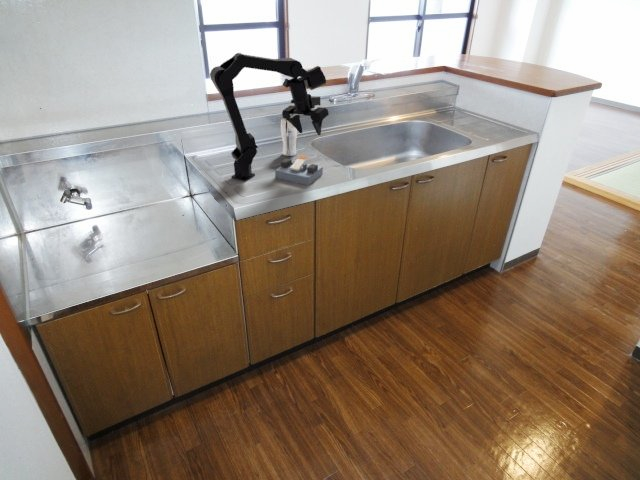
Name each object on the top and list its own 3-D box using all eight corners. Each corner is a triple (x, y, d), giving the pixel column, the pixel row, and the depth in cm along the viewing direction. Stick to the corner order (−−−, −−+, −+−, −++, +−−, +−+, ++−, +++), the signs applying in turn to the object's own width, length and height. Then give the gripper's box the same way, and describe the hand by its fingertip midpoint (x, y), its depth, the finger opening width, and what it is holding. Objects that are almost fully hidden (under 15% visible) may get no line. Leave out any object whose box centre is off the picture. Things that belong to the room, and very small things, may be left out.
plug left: (286, 168, 160) (286, 163, 159) (281, 166, 161) (280, 161, 160) (291, 164, 163) (291, 159, 162) (286, 163, 164) (286, 158, 163)
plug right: (312, 173, 156) (312, 168, 155) (307, 172, 157) (307, 167, 156) (317, 170, 159) (317, 165, 158) (311, 168, 160) (312, 163, 159)
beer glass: (298, 151, 184) (298, 117, 177) (296, 157, 179) (296, 121, 171) (282, 150, 185) (282, 116, 177) (279, 156, 179) (279, 120, 171)
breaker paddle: (298, 171, 156) (298, 169, 156) (290, 169, 158) (289, 167, 157) (308, 158, 161) (307, 156, 160) (300, 156, 162) (299, 154, 162)
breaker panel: (308, 185, 155) (308, 172, 152) (275, 177, 160) (274, 164, 157) (322, 174, 164) (322, 161, 161) (290, 167, 169) (290, 154, 166)
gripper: (332, 85, 152) (341, 125, 162) (294, 84, 163) (304, 122, 173) (314, 99, 146) (324, 140, 156) (275, 97, 157) (287, 135, 167)
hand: (310, 133), depth 163 cm, fingers open, 9 cm apart
